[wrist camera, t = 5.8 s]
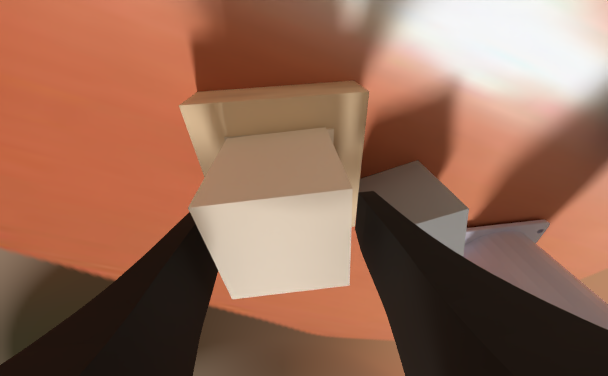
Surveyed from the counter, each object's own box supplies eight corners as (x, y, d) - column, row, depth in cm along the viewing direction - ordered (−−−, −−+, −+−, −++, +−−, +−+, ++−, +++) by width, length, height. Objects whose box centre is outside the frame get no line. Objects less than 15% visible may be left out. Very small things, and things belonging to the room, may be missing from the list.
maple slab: (344, 197, 17) (355, 227, 14) (234, 207, 17) (226, 239, 14) (351, 78, 12) (369, 91, 10) (200, 89, 12) (178, 106, 9)
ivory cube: (328, 204, 13) (349, 285, 9) (249, 213, 13) (232, 299, 9) (325, 127, 10) (352, 188, 6) (226, 138, 10) (187, 207, 6)
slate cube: (420, 208, 18) (462, 263, 13) (362, 225, 18) (386, 283, 14) (417, 159, 15) (468, 208, 11) (351, 181, 16) (376, 235, 11)
